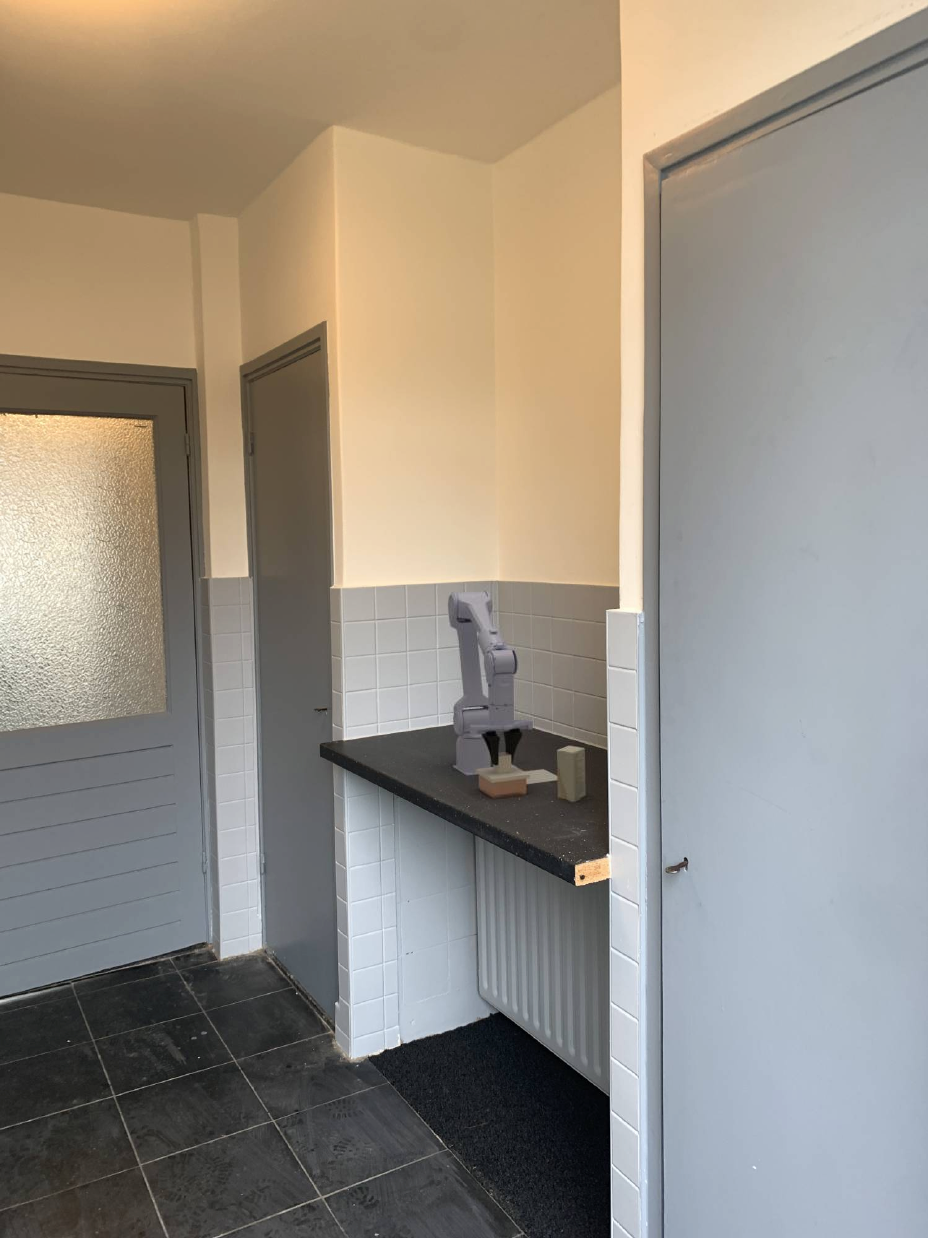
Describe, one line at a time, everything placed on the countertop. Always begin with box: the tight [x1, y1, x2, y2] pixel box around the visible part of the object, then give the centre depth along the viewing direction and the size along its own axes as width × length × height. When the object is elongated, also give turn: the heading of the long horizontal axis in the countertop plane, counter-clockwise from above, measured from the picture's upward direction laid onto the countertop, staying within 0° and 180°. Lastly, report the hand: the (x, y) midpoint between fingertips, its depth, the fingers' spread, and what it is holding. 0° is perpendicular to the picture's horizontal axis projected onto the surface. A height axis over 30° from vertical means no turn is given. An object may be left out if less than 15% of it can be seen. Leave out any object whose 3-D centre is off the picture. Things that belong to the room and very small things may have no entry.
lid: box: [476, 751, 529, 783], centre depth 201 cm, size 9×9×5 cm
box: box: [556, 745, 586, 803], centre depth 196 cm, size 5×4×11 cm
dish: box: [478, 774, 527, 800], centre depth 201 cm, size 8×8×4 cm
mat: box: [525, 768, 557, 785], centre depth 214 cm, size 10×10×1 cm
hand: (502, 763), depth 201 cm, fingers closed on lid, 3 cm apart
